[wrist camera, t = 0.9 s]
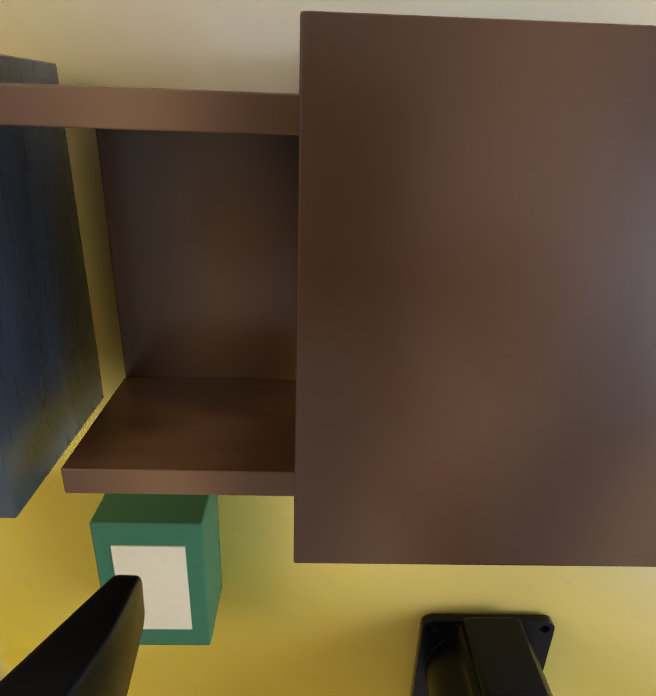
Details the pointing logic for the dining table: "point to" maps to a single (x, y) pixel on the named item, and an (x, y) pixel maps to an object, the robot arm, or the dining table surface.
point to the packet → (164, 560)
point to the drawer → (149, 289)
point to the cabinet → (475, 292)
